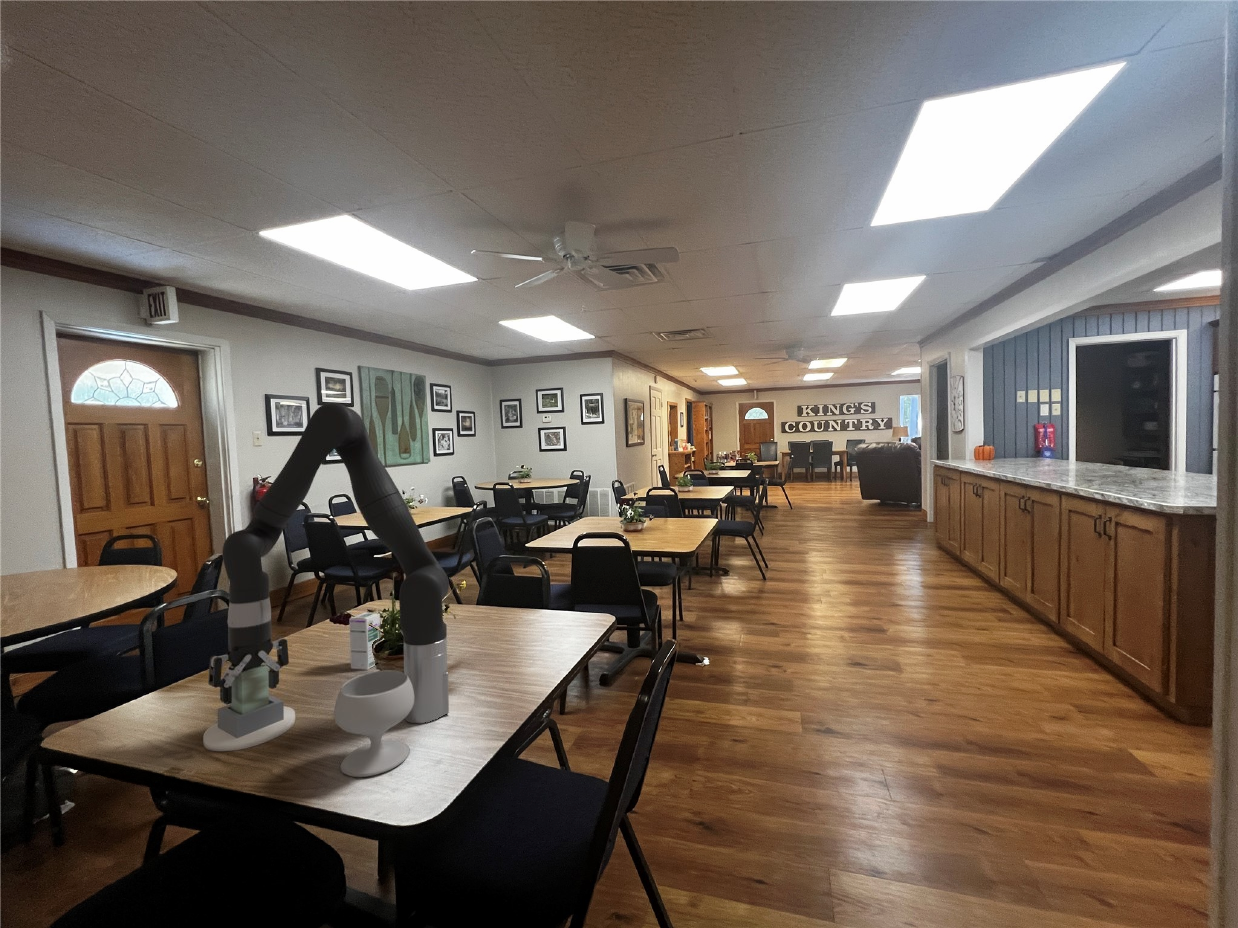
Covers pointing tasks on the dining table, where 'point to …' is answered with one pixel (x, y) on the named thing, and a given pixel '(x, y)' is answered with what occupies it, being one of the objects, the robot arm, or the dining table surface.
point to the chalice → (374, 719)
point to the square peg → (250, 690)
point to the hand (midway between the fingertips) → (250, 695)
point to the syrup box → (363, 639)
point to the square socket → (248, 726)
